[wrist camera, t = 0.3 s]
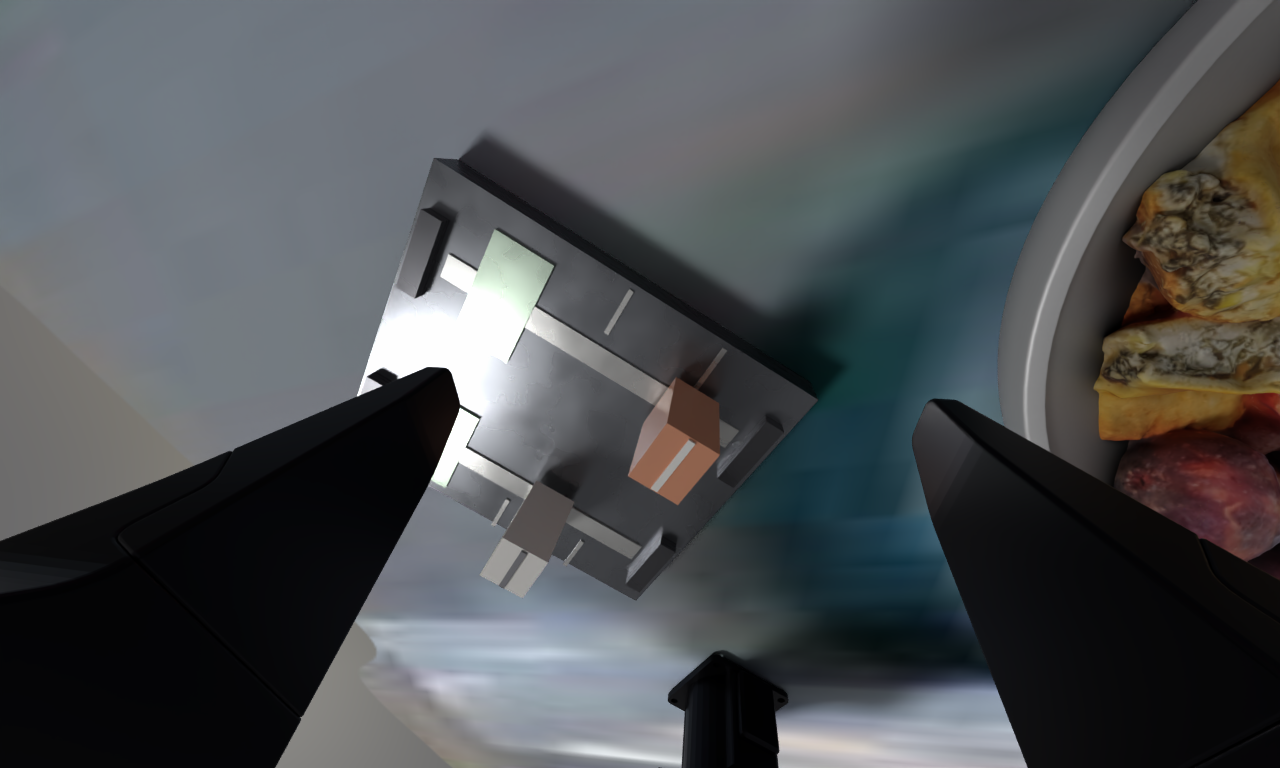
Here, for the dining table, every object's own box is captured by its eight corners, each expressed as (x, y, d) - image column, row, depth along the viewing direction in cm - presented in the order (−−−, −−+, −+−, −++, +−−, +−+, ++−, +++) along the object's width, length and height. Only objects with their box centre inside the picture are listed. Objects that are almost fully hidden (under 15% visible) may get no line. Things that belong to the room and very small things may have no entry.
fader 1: (551, 535, 26) (521, 600, 22) (515, 514, 26) (478, 576, 22) (574, 501, 25) (547, 564, 21) (536, 480, 25) (501, 539, 21)
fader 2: (684, 447, 23) (677, 506, 19) (643, 423, 22) (627, 477, 18) (719, 403, 21) (719, 456, 17) (675, 376, 21) (666, 424, 17)
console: (639, 577, 30) (632, 612, 28) (366, 424, 28) (333, 447, 26) (810, 382, 23) (821, 406, 21) (457, 159, 21) (424, 157, 19)
